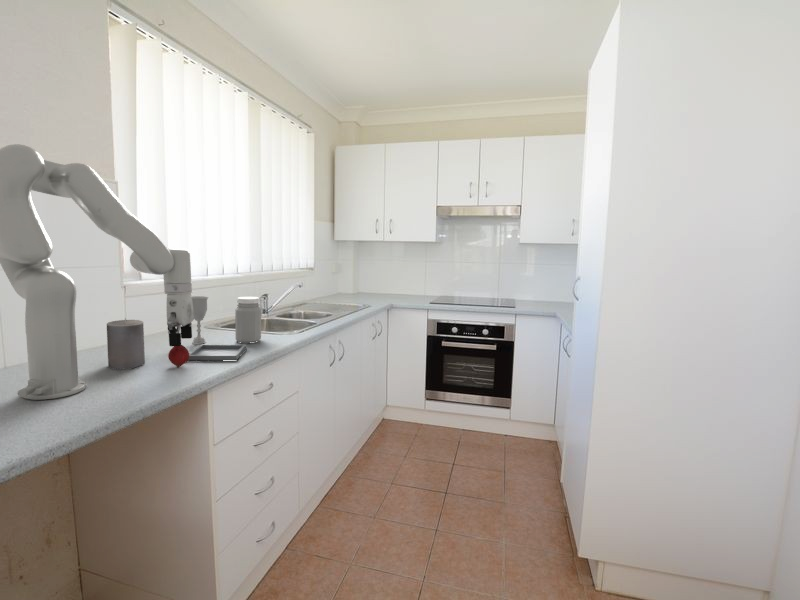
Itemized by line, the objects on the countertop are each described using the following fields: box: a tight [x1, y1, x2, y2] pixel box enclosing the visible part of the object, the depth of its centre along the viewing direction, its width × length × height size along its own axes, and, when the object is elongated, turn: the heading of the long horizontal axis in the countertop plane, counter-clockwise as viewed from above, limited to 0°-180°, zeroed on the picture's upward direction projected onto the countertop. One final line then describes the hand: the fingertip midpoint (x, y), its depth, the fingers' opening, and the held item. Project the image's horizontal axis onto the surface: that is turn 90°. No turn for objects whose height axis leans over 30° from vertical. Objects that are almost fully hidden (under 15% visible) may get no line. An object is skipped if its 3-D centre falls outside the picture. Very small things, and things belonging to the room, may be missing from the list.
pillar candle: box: [106, 317, 146, 370], centre depth 129 cm, size 10×10×15 cm
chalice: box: [191, 295, 209, 345], centre depth 161 cm, size 7×7×18 cm
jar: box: [234, 295, 262, 344], centre depth 167 cm, size 10×10×18 cm
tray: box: [187, 343, 247, 361], centre depth 145 cm, size 16×16×2 cm
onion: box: [167, 344, 190, 368], centre depth 130 cm, size 6×6×8 cm
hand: (181, 342), depth 130 cm, fingers open, 9 cm apart
